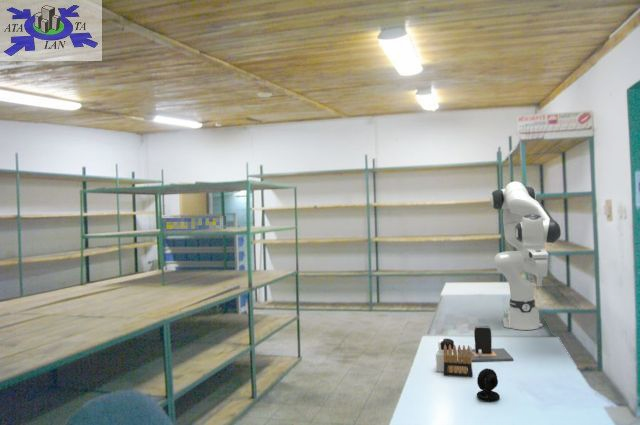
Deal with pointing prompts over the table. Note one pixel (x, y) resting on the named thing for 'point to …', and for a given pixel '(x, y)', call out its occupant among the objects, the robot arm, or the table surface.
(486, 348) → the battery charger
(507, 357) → the dock
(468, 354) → the ammunition clip
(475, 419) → the table surface
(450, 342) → the medicine bottle
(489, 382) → the webcam
